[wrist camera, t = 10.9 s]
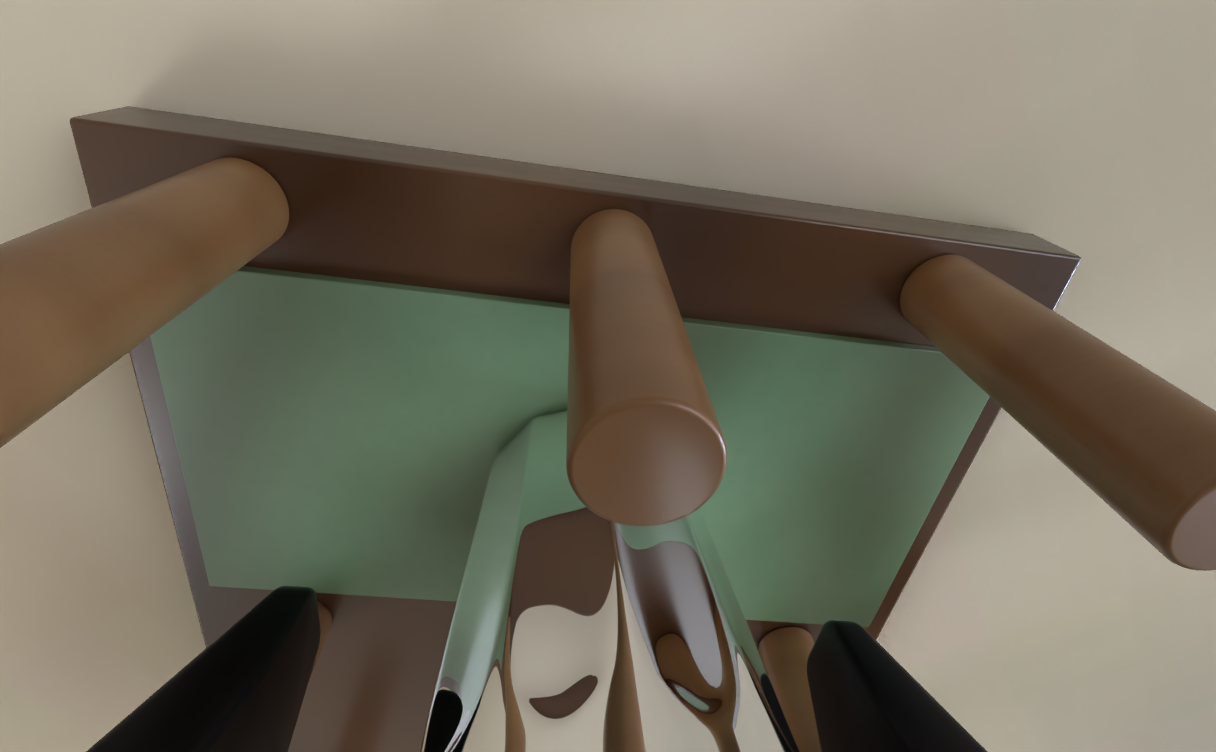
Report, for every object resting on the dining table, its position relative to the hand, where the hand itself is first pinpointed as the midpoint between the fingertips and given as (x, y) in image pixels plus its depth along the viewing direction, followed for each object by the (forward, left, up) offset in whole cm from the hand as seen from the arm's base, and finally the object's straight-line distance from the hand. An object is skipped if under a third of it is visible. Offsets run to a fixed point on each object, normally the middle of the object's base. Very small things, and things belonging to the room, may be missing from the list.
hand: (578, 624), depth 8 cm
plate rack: (0, +4, -4) cm, 6 cm away
